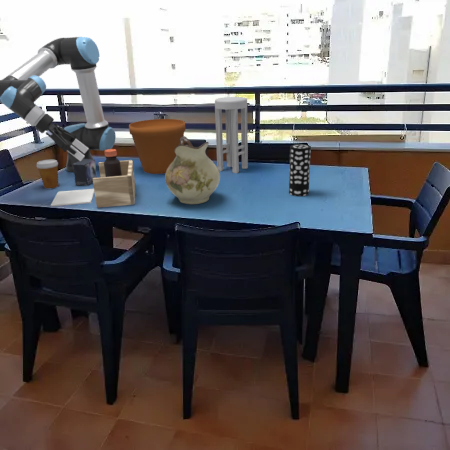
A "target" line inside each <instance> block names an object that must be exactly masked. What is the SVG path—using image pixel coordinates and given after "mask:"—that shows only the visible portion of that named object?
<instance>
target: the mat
mask: <svg viewBox="0 0 450 450" xmlns="http://www.w3.org/2000/svg"><path fill="white" fill-rule="evenodd" d="M94 196H95V192H94V188H86V189H73V190H60V191H57V193H56V194H55V196H54V199H53V200H52V202H51V204H50V206H51V207H59V206H61V207H62V206H70V205H82V204H92V201H93V199H94Z"/></svg>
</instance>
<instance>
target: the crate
mask: <svg viewBox="0 0 450 450" xmlns="http://www.w3.org/2000/svg"><path fill="white" fill-rule="evenodd" d="M119 161H120V165H121V173H122V176H114V177H106V176H105V169H104V162H105V161H102V162H101V161H100V162H98V163H97V164H98V169H99V170H98V171H99V177H97V178H93V183H92V184H93V189H94V197H95V204H96V208H107V207H108V208H109V207H121V206H131V205H133V206H134V205H135V200H136V177H135V172H134V169H135V168H134V162H133V159H128V160H127V159H126V160H119Z"/></svg>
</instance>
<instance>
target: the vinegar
mask: <svg viewBox="0 0 450 450" xmlns="http://www.w3.org/2000/svg"><path fill="white" fill-rule="evenodd" d="M117 156H118V151H117V149H114V148H111V149H108V150H104V157H105V160H104V161H103V162H104V169H105V176H106V177H114V176H122V173H121V165H120V161H121V160H119V159H118V158H117Z"/></svg>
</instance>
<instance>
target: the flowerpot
mask: <svg viewBox="0 0 450 450" xmlns="http://www.w3.org/2000/svg"><path fill="white" fill-rule="evenodd" d="M128 131H129V135H131V138H132V140H133V144H134V146H135V150H136V152H137V155H138V158H139V161H140V165H141V167H142V170H143V172H144V173H146V174H151V175H163V174H164V175H165V174H166V171H167V169H168V167H169V165H170V164H171V163H172V162H173V160H174V158H175V157H176V153H175V152H174V150H175V147H177V146H178V145H180V141H179V140H180V138H181V137H182V136H184V135H185V131H186V122H185V121H184V120H182V119H176V118H175V119H174V118H158V119H157V118H154V119H153V118H152V119H145V120H137V121H134V122H131V123H129V125H128Z"/></svg>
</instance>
